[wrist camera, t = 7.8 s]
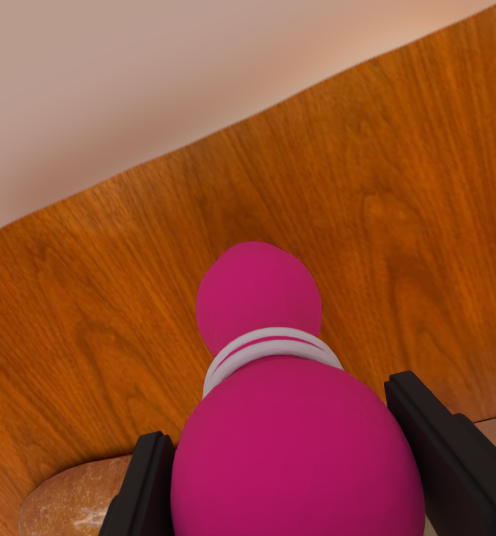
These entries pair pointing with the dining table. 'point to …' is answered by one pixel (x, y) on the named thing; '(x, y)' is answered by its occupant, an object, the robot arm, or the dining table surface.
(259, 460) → the pepper mill
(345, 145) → the dining table surface
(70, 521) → the bread
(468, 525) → the robot arm
